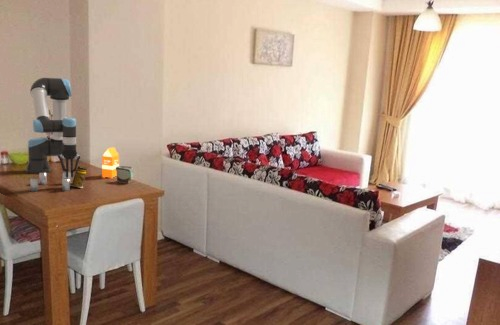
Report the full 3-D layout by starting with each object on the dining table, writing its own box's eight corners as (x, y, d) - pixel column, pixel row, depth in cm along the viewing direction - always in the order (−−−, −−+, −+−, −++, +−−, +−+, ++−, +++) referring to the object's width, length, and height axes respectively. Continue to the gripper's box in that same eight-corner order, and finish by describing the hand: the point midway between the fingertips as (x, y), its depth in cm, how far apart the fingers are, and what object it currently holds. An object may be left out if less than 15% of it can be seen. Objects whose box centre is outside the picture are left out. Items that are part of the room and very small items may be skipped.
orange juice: (102, 177, 288) (101, 148, 285) (109, 174, 297) (109, 146, 293) (112, 178, 287) (112, 149, 283) (119, 175, 295) (119, 147, 292)
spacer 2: (40, 183, 263) (39, 172, 262) (47, 183, 264) (47, 172, 263) (39, 184, 260) (38, 173, 258) (46, 184, 261) (45, 173, 259)
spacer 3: (63, 183, 267) (62, 172, 266) (69, 183, 268) (69, 172, 267) (62, 184, 263) (61, 173, 262) (69, 184, 264) (68, 173, 263)
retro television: (136, 182, 280) (136, 167, 278) (130, 184, 274) (130, 169, 272) (121, 179, 285) (121, 165, 283) (115, 181, 279) (115, 166, 277)
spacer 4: (62, 189, 252) (62, 178, 251) (70, 189, 254) (69, 178, 252) (61, 191, 249) (61, 179, 247) (69, 191, 250) (69, 179, 249)
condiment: (83, 188, 258) (88, 169, 257) (68, 185, 254) (74, 166, 253) (82, 185, 264) (87, 167, 263) (67, 182, 260) (73, 163, 259)
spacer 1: (31, 189, 248) (30, 178, 246) (38, 189, 249) (38, 178, 248) (29, 191, 244) (29, 179, 243) (37, 191, 245) (37, 179, 244)
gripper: (56, 144, 248) (57, 183, 252) (80, 145, 252) (80, 183, 256) (58, 142, 256) (59, 181, 259) (81, 143, 259) (81, 181, 263)
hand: (69, 182), depth 258 cm, fingers closed
